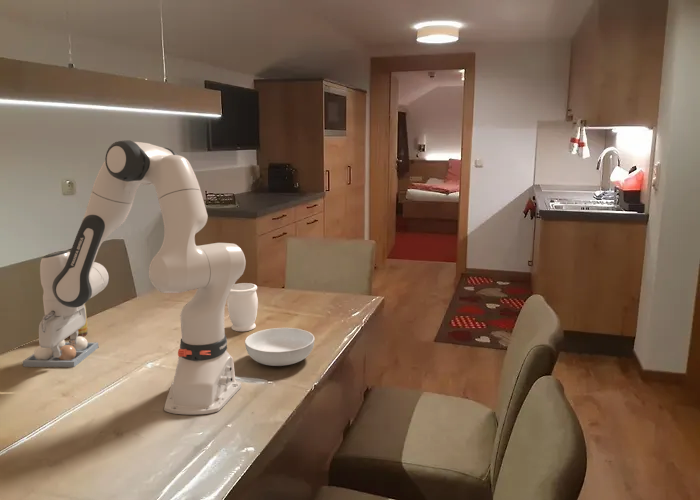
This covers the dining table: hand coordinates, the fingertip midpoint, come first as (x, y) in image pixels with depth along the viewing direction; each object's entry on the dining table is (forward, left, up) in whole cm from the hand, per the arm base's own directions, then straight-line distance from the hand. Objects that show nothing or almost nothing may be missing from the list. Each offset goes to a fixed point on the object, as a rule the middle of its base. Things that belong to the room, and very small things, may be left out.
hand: (65, 350), depth 169 cm
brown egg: (0, 0, -3) cm, 3 cm away
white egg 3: (+7, 0, -3) cm, 8 cm away
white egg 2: (+7, +7, -3) cm, 11 cm away
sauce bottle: (+22, +8, -4) cm, 24 cm away
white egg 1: (0, +7, -3) cm, 8 cm away
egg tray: (+4, +3, -4) cm, 6 cm away
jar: (+32, -46, -4) cm, 56 cm away
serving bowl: (+4, -63, -4) cm, 64 cm away
